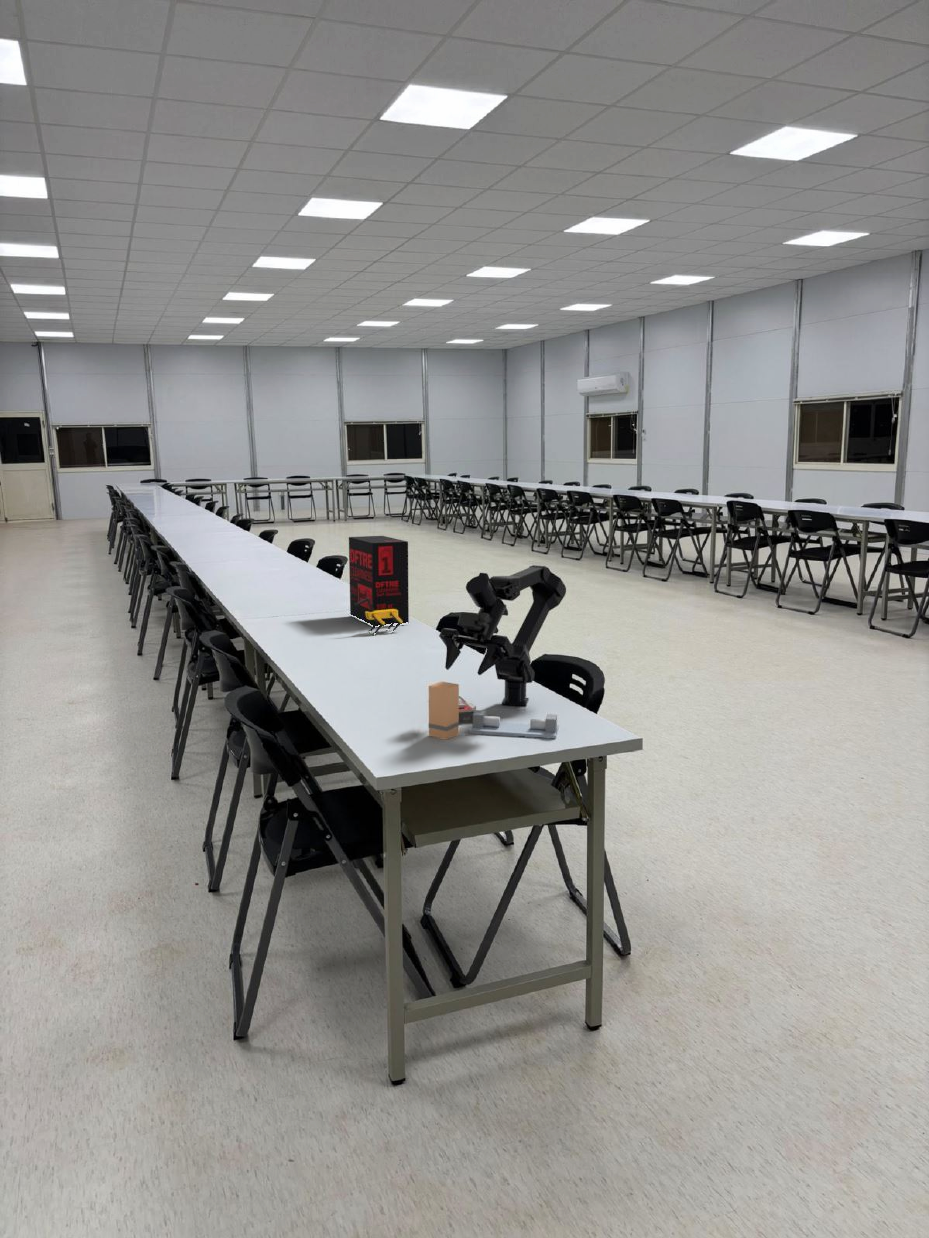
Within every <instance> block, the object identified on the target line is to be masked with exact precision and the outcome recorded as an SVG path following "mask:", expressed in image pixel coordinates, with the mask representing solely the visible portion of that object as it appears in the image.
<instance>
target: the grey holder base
mask: <svg viewBox="0 0 929 1238" xmlns="http://www.w3.org/2000/svg"><path fill="white" fill-rule="evenodd" d="M486 713H487V711H486V710H480V709H476V711H475V712H474V714H473V722H472V727H471V728H470V733H469V734H470V735H471V734H473V735H488V736H489V735H491V736H504V737H505V736H506V737H518V736H525V737H524V738H534V737H544V738H543V739H546V738H545V737H549V738H548V739H550V738H556V739H557V736H556V735H558V731H559V725H558V714H553V713H552V714H551V713H547V714H546V717H545V719H543V718H542V719H541V718H530V722H528V723H527V722H526V723H525V722H524V723H523V722H510V721H507V722H506V721H501V717H500V716H493V715H491V716H488V715H487V714H486Z"/></svg>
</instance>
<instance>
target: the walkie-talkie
mask: <svg viewBox="0 0 929 1238" xmlns="http://www.w3.org/2000/svg"><path fill="white" fill-rule="evenodd" d="M476 710H477V706H476V704H474V703H473V702H472V701H466V700H465V699H464V698H463V697H462V696H460V695H459V724H461V723H463V722H464V723H473V714H474V712H475V711H476Z"/></svg>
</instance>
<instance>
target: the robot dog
mask: <svg viewBox="0 0 929 1238" xmlns="http://www.w3.org/2000/svg"><path fill="white" fill-rule="evenodd" d="M366 601H367V602H368V605H369V607H370V609H369V611H366V612H365V614H366V618H367V619H369V620H372V619H373V620H374V621H375V622H376V624H375V625H374V626H373V627H371V628H370V629H369V631H371V632H372V631H373V630H374V629H376V630H374V632H373V633H376V634H377V633H378V632H379V630H380V629H381V628H383V627H382V626H384V625H385V623H384V621H382V620H381V619H382V618H392V619H393V620H394V621H393V623H392V624H391V625H390V626H389V627H387V629H389V630H391V628H392V627H394V628H393V629H392V630H393V631H394V630H395V631H396V629H398V627H400V626H399V625H400V624H402V623H403V621H402V620H401V619H400V618H399V617H398V610H396V609H387V610H376V611H374V608H373V607H372V605H371V602H370V600H369V598H366V599H364V600H362V601H360V602H358V603H355V604H354V606H357V605H360V604H362V603H364V602H366ZM397 621H398V622H399V623H398V624H397V625H396V626H393V624H394V623H395V622H397ZM379 623H380V624H381V625H380V626H379V627H378V628H375V626H376V625H377V624H379ZM395 631H394V632H395Z"/></svg>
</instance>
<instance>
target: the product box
mask: <svg viewBox="0 0 929 1238" xmlns="http://www.w3.org/2000/svg"><path fill="white" fill-rule="evenodd" d="M348 560H349V561H348V563H349V564H348V566H349V568H348V569H349V571H348V572H349V573H348V574H349V614H351V615H353V616H356V617H357V618H359V619H362V620H364V621H365V622H367V623H370V624H371V625H373V626H374V625H375V624H376V622H375V621H374V620H373V619H372V620H369V619H367V618H366V614H365V612H366V611H369V609H370V607H369V605H368V602H367V601H366V602H364V603H362V604H360V605H357V606H354V604H355V603H358V602H360V601H362V600H364V599H366V598H369V600H370V602H371V605H372V607H373V608H374V611H376V610H387V609H396V610H398V617H399V618H400V619H401V620H402V621H403V623H406V622H408V623H409V621H410V620H409V619H410V618H409V617H410V615H409V613H410V612H409V541H407V540H403V539H399V538H398V539H397V538H395V537H389V536H386V535H368V536H366V535H365V536H364V535H363V536H349V537H348ZM381 620H382V621H384V623H385V625H386V624H391V623H393V621H394V620H393V619H392V618H382V619H381ZM395 623H399V622H398V621H397V622H395ZM378 625H381V624H380V623H379V624H377V625H376V626H378Z"/></svg>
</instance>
